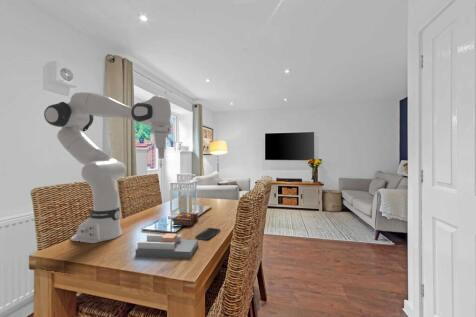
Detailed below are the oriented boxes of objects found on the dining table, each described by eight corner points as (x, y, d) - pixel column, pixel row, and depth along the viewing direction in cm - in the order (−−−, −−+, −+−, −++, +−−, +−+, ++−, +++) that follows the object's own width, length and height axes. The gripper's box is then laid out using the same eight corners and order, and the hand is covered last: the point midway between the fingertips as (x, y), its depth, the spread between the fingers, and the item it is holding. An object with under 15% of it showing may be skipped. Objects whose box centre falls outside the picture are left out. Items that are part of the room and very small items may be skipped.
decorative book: (198, 219, 137) (198, 212, 137) (189, 228, 121) (189, 219, 121) (181, 219, 139) (181, 211, 139) (171, 227, 123) (171, 218, 123)
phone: (194, 237, 105) (208, 227, 119) (194, 239, 105) (208, 229, 119) (208, 239, 102) (221, 229, 116) (208, 241, 102) (221, 231, 116)
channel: (135, 256, 86) (135, 244, 86) (149, 244, 98) (149, 233, 98) (190, 257, 85) (190, 245, 85) (197, 245, 97) (197, 234, 97)
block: (161, 247, 89) (161, 237, 89) (166, 242, 94) (166, 233, 94) (173, 247, 89) (173, 238, 89) (177, 242, 94) (177, 233, 94)
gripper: (156, 132, 111) (156, 158, 111) (152, 126, 91) (152, 158, 91) (168, 132, 113) (168, 158, 113) (167, 127, 93) (167, 158, 93)
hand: (161, 158), depth 102 cm, fingers open, 8 cm apart
